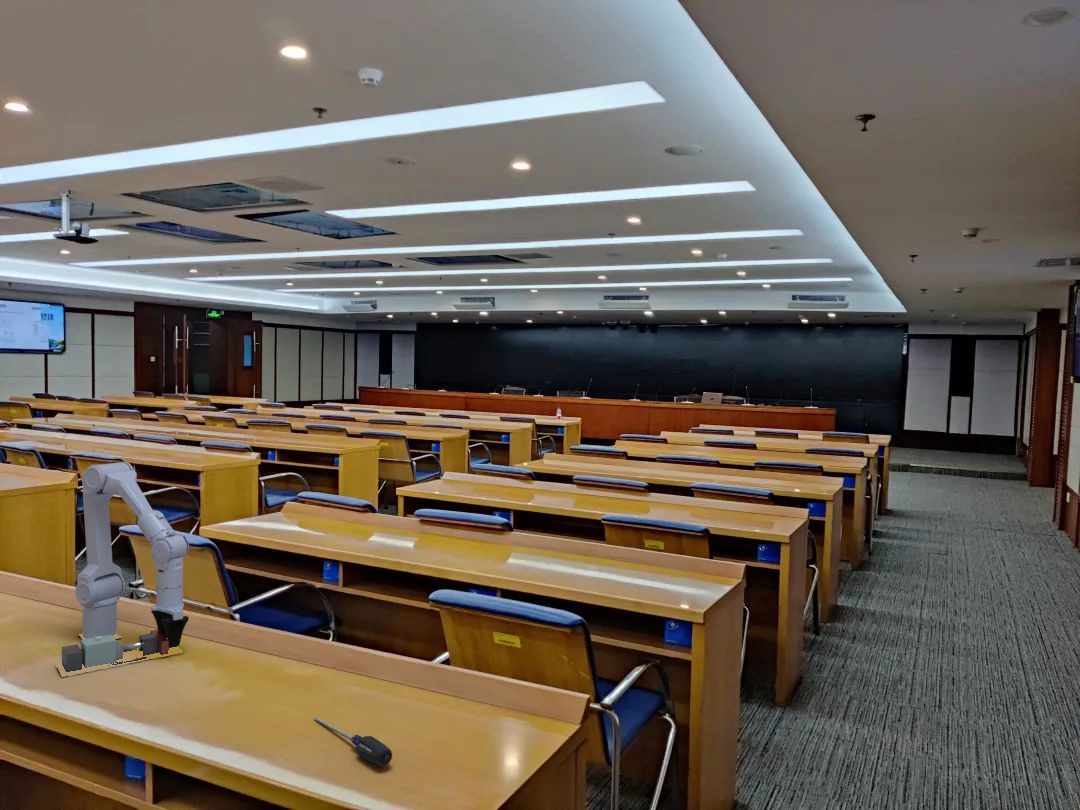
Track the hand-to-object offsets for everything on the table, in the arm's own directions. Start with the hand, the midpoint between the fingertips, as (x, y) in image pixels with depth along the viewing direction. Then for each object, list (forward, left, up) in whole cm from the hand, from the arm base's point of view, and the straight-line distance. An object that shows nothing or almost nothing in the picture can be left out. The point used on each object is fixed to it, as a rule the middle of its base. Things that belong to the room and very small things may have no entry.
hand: (169, 642), depth 179 cm
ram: (0, -7, -1) cm, 7 cm away
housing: (0, -15, -1) cm, 15 cm away
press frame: (0, -11, -2) cm, 11 cm away
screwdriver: (+69, +12, -2) cm, 70 cm away
